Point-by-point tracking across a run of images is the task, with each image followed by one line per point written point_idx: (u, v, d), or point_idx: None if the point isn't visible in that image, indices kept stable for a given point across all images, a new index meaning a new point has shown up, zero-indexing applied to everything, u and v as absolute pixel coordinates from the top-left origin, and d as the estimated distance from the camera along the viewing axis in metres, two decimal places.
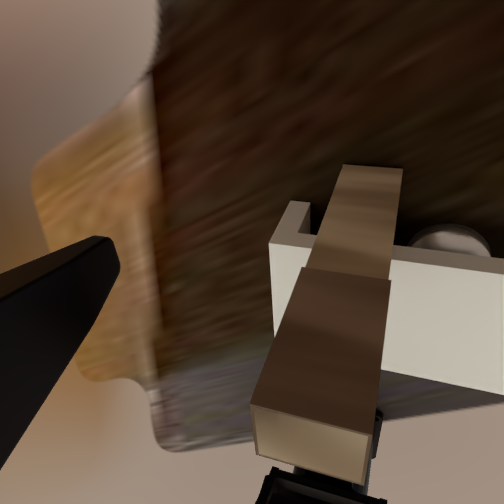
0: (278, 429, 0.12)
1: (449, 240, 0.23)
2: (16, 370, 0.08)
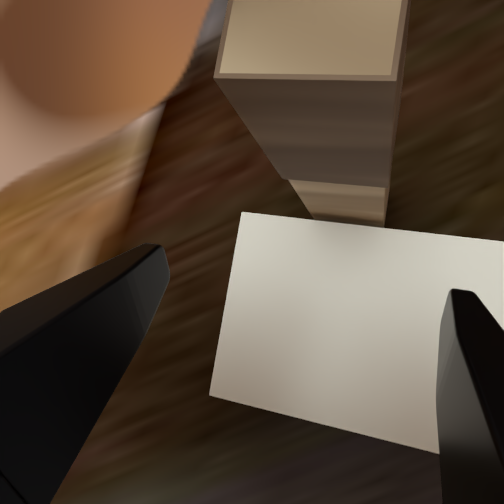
0: None
1: None
2: (75, 386, 0.08)
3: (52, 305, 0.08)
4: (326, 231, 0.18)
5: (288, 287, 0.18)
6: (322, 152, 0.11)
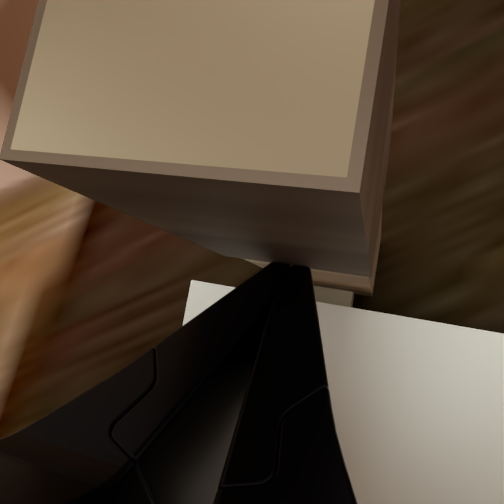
0: None
1: None
2: (226, 428, 0.07)
3: (210, 339, 0.07)
4: None
5: None
6: (262, 245, 0.07)
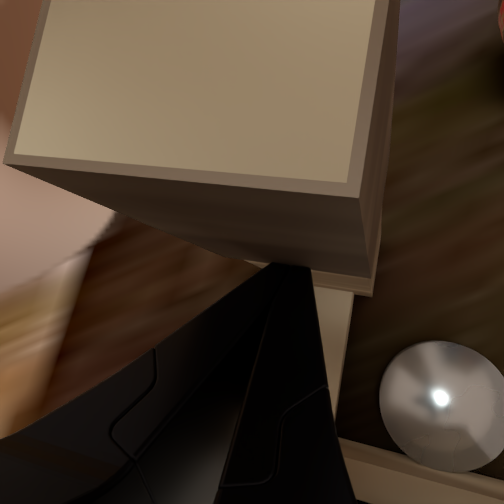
0: None
1: (444, 351, 0.15)
2: (226, 428, 0.07)
3: (209, 339, 0.07)
4: None
5: None
6: (262, 247, 0.07)
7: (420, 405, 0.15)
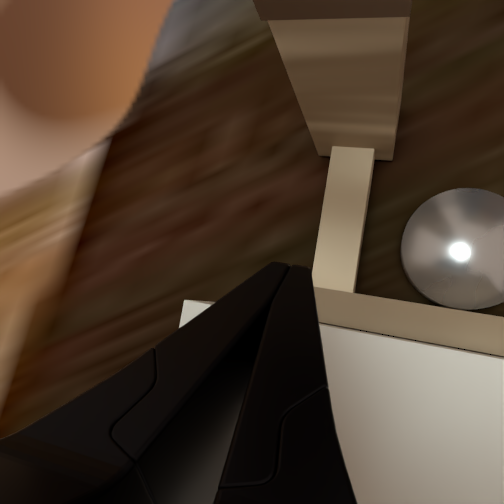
0: None
1: (465, 197, 0.16)
2: (226, 428, 0.07)
3: (210, 339, 0.07)
4: None
5: None
6: None
7: (441, 250, 0.16)
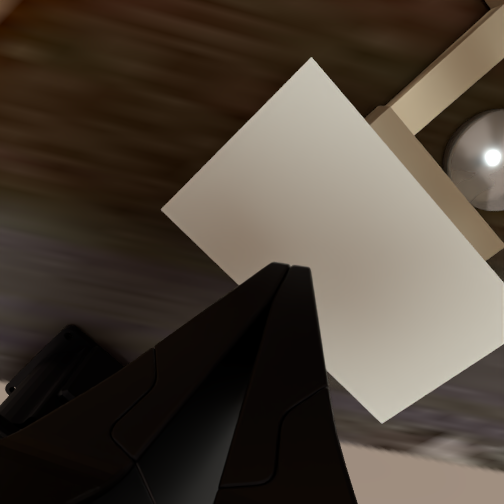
0: None
1: None
2: (226, 428, 0.07)
3: (210, 339, 0.07)
4: (371, 147, 0.16)
5: (299, 170, 0.16)
6: None
7: (488, 152, 0.19)
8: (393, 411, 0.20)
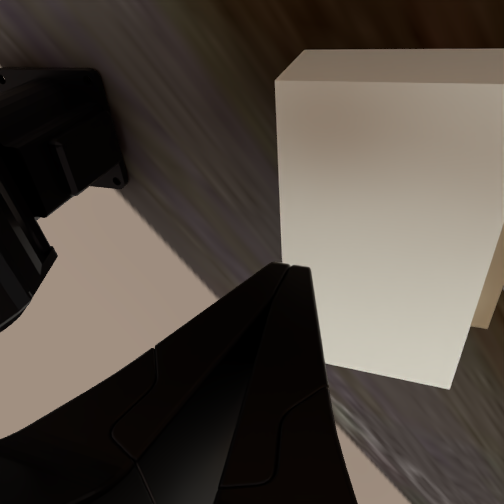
0: None
1: None
2: (226, 428, 0.07)
3: (210, 339, 0.07)
4: (495, 201, 0.15)
5: (422, 163, 0.15)
6: None
7: None
8: None
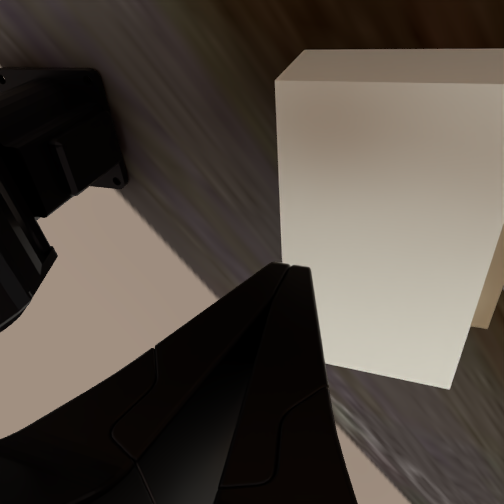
0: None
1: None
2: (226, 428, 0.07)
3: (210, 339, 0.07)
4: (495, 201, 0.15)
5: (422, 163, 0.15)
6: None
7: None
8: None
